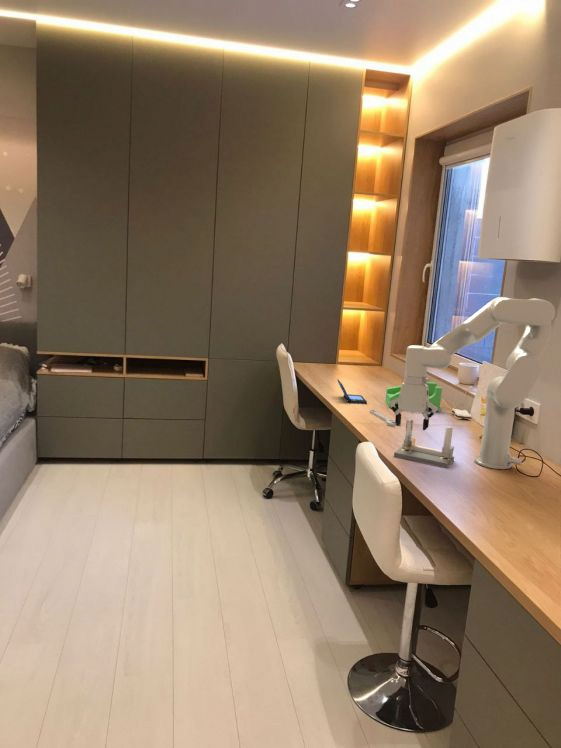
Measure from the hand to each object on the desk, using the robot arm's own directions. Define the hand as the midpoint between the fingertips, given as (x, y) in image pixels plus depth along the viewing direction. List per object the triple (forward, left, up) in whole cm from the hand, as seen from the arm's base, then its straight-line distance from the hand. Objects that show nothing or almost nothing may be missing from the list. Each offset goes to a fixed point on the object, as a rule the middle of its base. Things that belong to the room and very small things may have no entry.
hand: (411, 427), depth 225 cm
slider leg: (+1, -1, -8) cm, 8 cm away
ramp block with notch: (+22, -80, -11) cm, 84 cm away
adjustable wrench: (+24, -46, -11) cm, 53 cm away
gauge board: (-6, 0, -10) cm, 12 cm away
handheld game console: (+51, -72, -11) cm, 89 cm away
